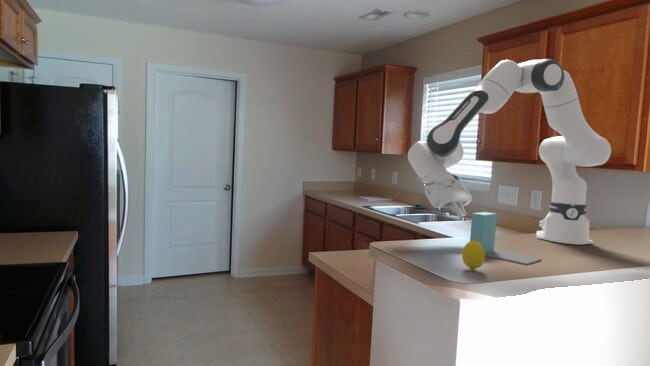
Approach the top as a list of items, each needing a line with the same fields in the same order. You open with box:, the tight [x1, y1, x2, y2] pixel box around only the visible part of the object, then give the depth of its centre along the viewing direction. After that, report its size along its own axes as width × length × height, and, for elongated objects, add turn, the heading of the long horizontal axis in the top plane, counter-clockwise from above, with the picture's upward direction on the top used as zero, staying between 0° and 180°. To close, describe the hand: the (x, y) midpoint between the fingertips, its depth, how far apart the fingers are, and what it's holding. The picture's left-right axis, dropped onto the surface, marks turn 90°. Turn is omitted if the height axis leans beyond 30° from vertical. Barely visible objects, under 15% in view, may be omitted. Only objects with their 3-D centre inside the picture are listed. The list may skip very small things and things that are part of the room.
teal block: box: [469, 211, 498, 253], centre depth 137 cm, size 4×8×12 cm, turn 132°
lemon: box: [461, 240, 486, 271], centre depth 113 cm, size 6×6×8 cm
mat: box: [485, 250, 542, 266], centre depth 131 cm, size 13×10×1 cm
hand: (463, 215), depth 142 cm, fingers closed
